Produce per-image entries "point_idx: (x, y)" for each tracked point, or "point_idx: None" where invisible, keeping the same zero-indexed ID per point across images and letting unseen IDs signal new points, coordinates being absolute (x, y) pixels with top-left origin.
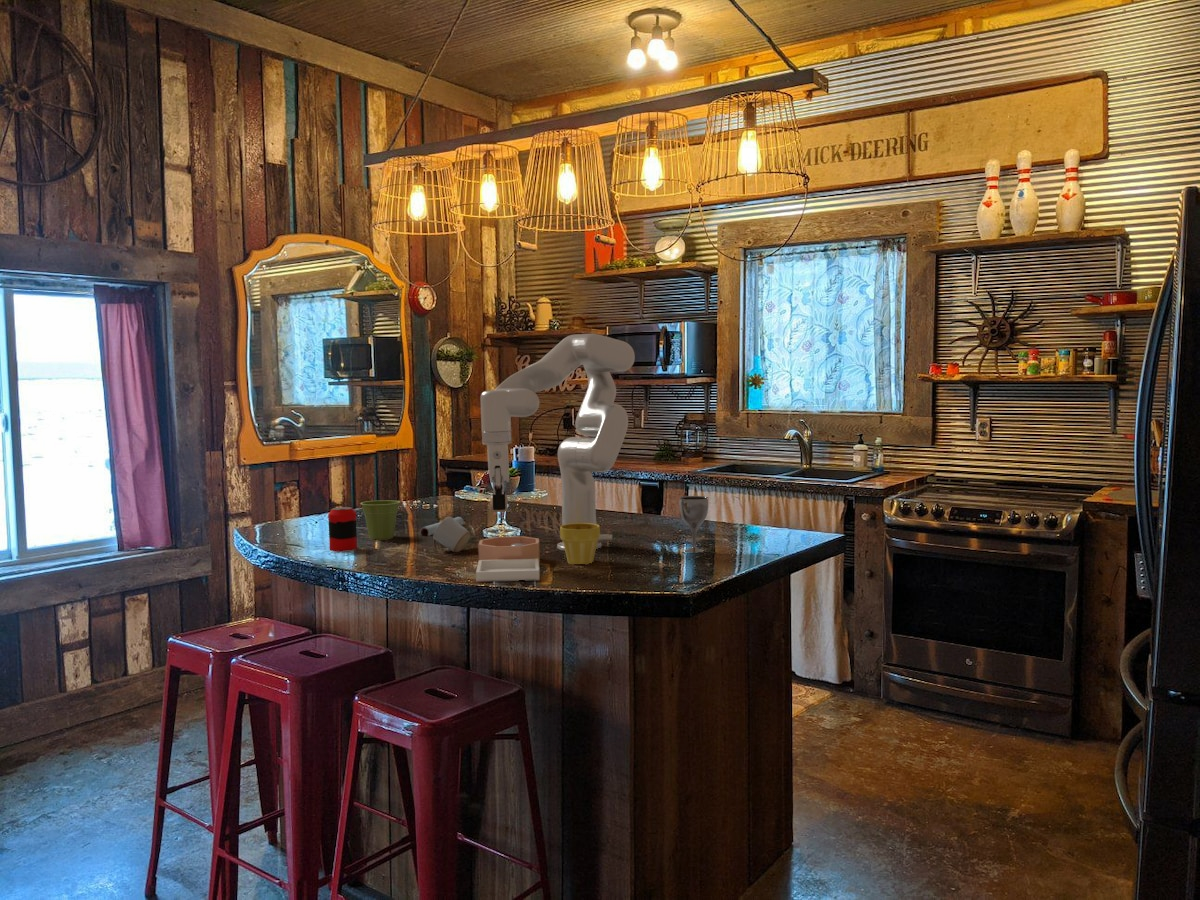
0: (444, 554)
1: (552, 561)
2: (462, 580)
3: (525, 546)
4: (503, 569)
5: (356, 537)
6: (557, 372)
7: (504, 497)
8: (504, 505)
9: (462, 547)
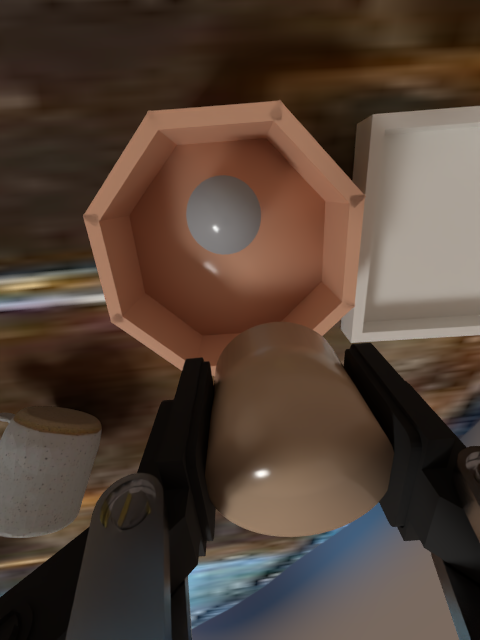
0: (110, 435)
1: (222, 62)
2: (470, 354)
3: (346, 175)
4: (385, 256)
5: None
6: None
7: (426, 413)
8: (381, 363)
9: (55, 408)
